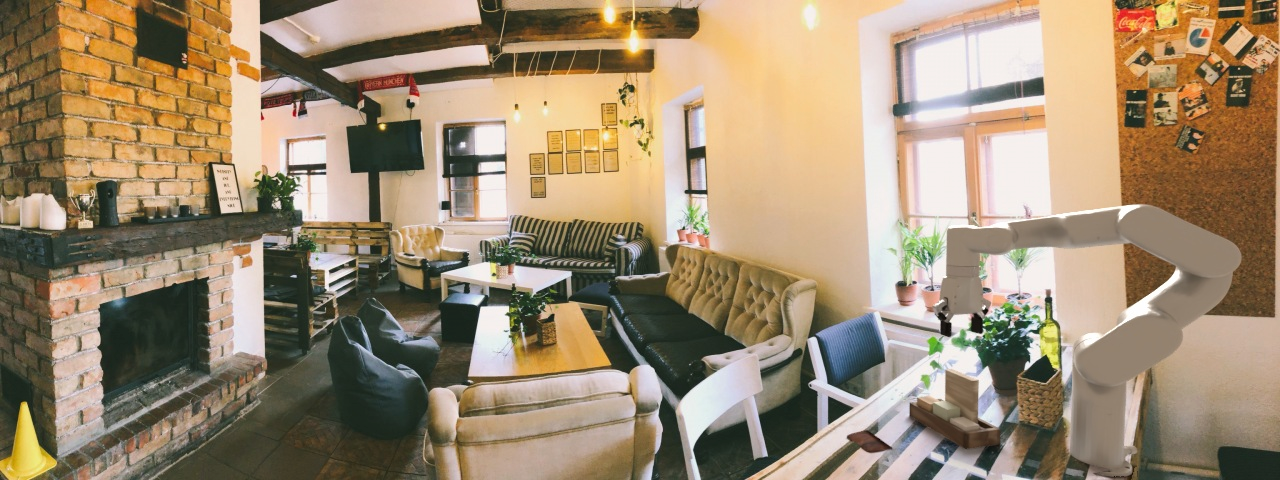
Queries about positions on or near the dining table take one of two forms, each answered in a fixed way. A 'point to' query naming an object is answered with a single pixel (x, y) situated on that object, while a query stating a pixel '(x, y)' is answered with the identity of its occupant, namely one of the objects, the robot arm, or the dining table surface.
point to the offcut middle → (946, 410)
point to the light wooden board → (962, 393)
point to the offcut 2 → (964, 424)
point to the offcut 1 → (926, 402)
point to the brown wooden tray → (957, 429)
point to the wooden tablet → (868, 441)
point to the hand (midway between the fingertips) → (961, 334)
